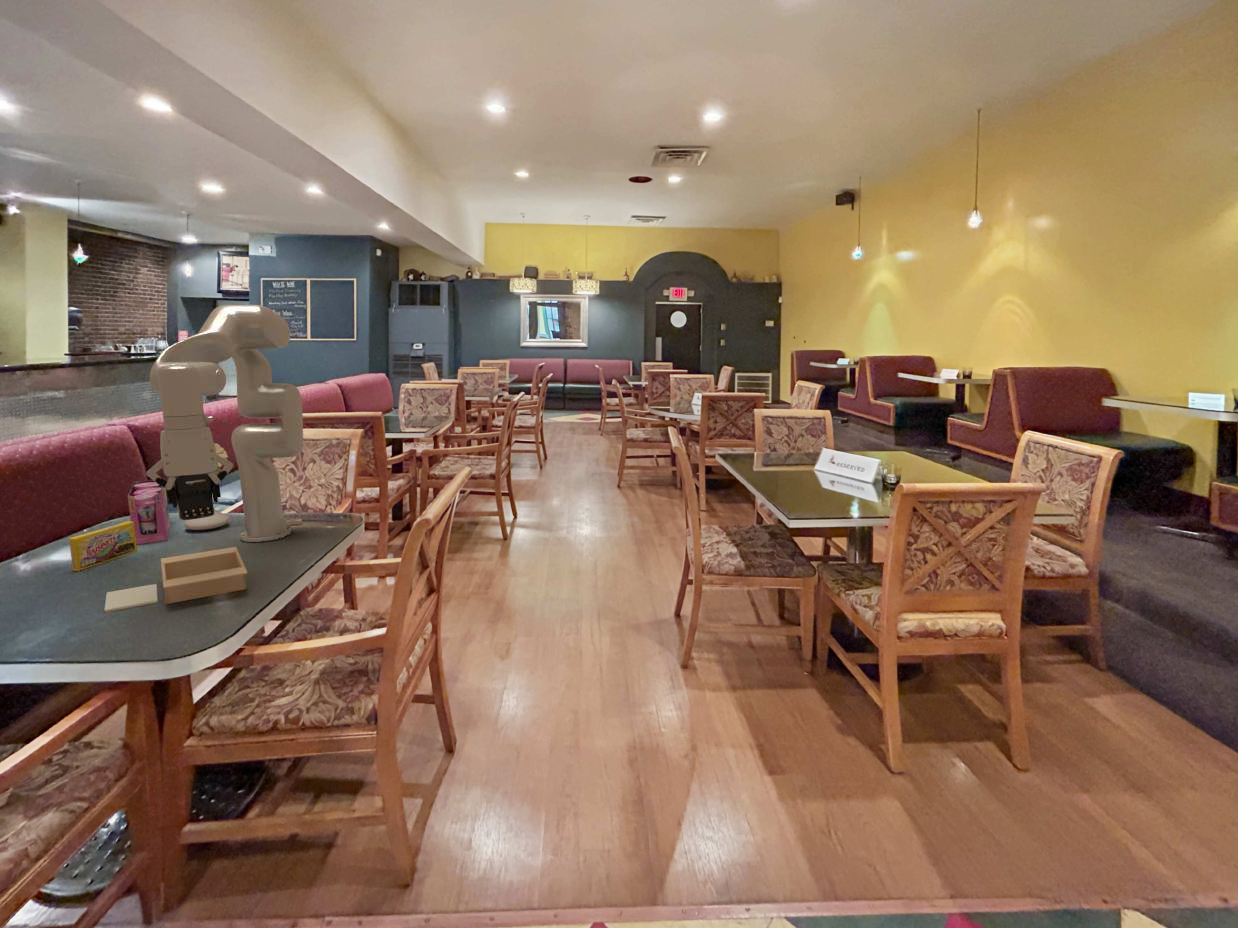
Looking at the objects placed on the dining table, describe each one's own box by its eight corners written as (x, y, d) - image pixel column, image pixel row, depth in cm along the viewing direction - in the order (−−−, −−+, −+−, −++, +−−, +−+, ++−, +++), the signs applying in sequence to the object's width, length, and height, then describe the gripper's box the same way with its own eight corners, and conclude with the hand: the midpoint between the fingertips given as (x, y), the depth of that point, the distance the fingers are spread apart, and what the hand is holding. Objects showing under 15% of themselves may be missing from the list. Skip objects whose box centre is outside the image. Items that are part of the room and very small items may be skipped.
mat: (156, 585, 155) (156, 583, 155) (157, 602, 145) (157, 600, 145) (107, 594, 150) (106, 592, 150) (104, 612, 140) (104, 610, 140)
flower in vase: (191, 535, 194) (180, 448, 189) (179, 528, 201) (168, 443, 197) (241, 526, 203) (232, 442, 198) (227, 519, 211) (218, 438, 206)
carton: (238, 566, 167) (235, 546, 166) (249, 594, 149) (247, 572, 148) (163, 579, 159) (160, 558, 158) (166, 610, 141) (163, 587, 140)
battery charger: (181, 522, 148) (174, 470, 145) (177, 519, 151) (171, 468, 148) (218, 516, 152) (212, 466, 150) (213, 513, 155) (207, 463, 153)
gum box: (167, 542, 188) (161, 493, 186) (132, 546, 184) (125, 497, 182) (170, 522, 208) (165, 478, 206) (139, 526, 204) (132, 481, 202)
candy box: (79, 572, 165) (74, 538, 163) (72, 571, 165) (66, 538, 164) (138, 551, 180) (134, 520, 179) (131, 550, 181) (127, 520, 179)
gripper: (229, 418, 155) (238, 494, 159) (135, 424, 145) (147, 506, 149) (232, 421, 149) (242, 501, 153) (135, 429, 139) (148, 513, 143)
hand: (195, 503), depth 151 cm, fingers closed on battery charger, 7 cm apart
